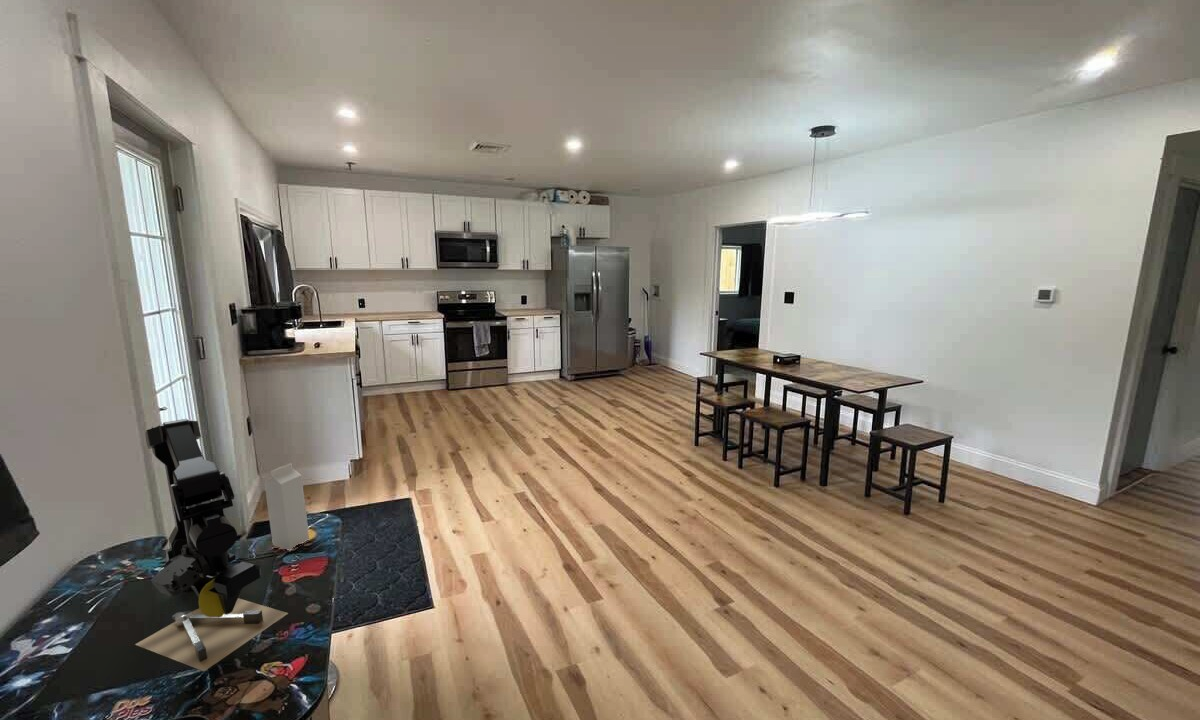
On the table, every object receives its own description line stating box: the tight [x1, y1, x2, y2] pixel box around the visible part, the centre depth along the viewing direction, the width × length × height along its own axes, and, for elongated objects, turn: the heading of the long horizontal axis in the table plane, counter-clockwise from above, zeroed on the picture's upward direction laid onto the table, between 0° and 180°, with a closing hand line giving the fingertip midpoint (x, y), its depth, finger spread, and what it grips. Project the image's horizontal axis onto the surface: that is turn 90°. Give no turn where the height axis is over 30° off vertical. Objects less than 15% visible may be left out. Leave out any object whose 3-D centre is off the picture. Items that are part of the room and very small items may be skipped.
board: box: [134, 597, 289, 672], centre depth 96 cm, size 20×16×1 cm
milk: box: [264, 462, 310, 550], centre depth 128 cm, size 6×6×22 cm
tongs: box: [171, 610, 263, 662], centre depth 96 cm, size 17×12×2 cm
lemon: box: [198, 579, 225, 618], centre depth 93 cm, size 6×6×8 cm
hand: (218, 609), depth 93 cm, fingers closed on lemon, 5 cm apart
